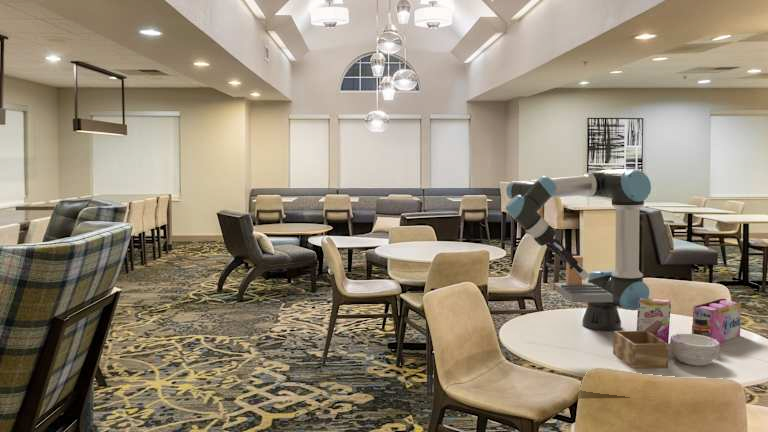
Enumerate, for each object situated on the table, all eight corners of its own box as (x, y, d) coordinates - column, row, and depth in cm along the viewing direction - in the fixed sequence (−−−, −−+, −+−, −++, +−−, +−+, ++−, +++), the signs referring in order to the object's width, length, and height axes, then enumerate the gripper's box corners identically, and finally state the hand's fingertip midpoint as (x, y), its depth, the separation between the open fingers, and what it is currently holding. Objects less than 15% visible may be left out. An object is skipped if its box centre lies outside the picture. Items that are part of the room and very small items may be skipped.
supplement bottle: (712, 349, 232) (714, 319, 231) (703, 352, 229) (704, 321, 228) (697, 345, 237) (698, 315, 236) (687, 347, 234) (689, 317, 233)
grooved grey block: (553, 289, 235) (554, 255, 234) (590, 289, 235) (592, 255, 234) (571, 302, 215) (573, 265, 214) (612, 302, 216) (614, 265, 214)
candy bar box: (636, 343, 240) (638, 300, 239) (635, 339, 245) (637, 297, 243) (669, 346, 237) (671, 302, 235) (667, 342, 241) (669, 299, 240)
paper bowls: (728, 368, 212) (729, 345, 211) (684, 369, 211) (685, 346, 210) (702, 354, 227) (703, 332, 226) (660, 355, 226) (661, 333, 225)
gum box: (721, 331, 258) (723, 297, 256) (742, 335, 251) (744, 301, 250) (690, 341, 243) (692, 306, 242) (711, 346, 237) (713, 310, 236)
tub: (612, 353, 228) (613, 331, 227) (645, 352, 228) (646, 330, 228) (632, 368, 212) (633, 344, 211) (667, 367, 212) (669, 344, 212)
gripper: (527, 235, 239) (569, 279, 241) (540, 241, 223) (585, 288, 225) (541, 221, 239) (584, 265, 241) (555, 226, 223) (600, 273, 225)
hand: (584, 276), depth 233 cm, fingers closed on grooved grey block, 3 cm apart
